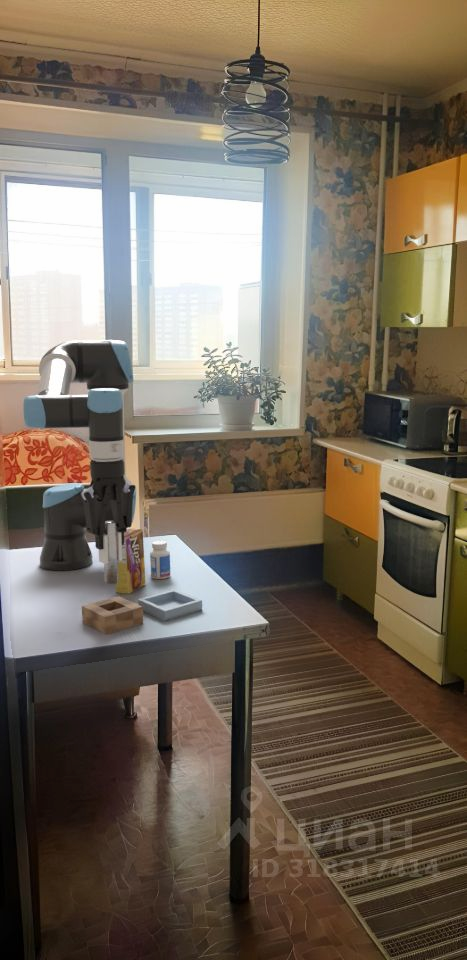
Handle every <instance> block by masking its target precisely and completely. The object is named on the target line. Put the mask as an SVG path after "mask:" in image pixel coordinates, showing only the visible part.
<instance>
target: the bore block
mask: <svg viewBox="0 0 467 960" xmlns="http://www.w3.org/2000/svg"><path fill="white" fill-rule="evenodd" d="M81 616H82V617H81V618H82V620H81V621H82V623H83V624H85V625H87V626H89V627H90V628H92V629H95V630H97V631H98V632H101V633H102V634H104V635H109V634H112V633H115V632H119V631H122V630H125V629H129V628H132V627H135V626H139V625H142V624H144V612H143V607H142V606H140V605H138V603H135V602H133V601H131V600H128V599H126V598H124V597H122V596H120V595H118V596H114V597H110V598H107V599H101V600H99V601H98V600H97V601H95V602H91V603H87V604H83V605H82V606H81Z"/></svg>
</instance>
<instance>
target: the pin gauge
mask: <svg viewBox="0 0 467 960" xmlns="http://www.w3.org/2000/svg"><path fill="white" fill-rule="evenodd" d="M104 534H105V535H107V538H108V564H104V563H103V565H104V566H103V567H104V568H103V569H104V583H105V584H107V585H113V584H115V585H116V583H117V582H118V561H117V531H116V521H105V530H104Z"/></svg>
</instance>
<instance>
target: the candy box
mask: <svg viewBox="0 0 467 960" xmlns="http://www.w3.org/2000/svg"><path fill="white" fill-rule="evenodd" d="M143 531H144V530H143V529H141V528H129V529H128V528H127V531H126V532H124V544H123V545H122V560H121V561H119V560H117V561H118V582H117V583H115V592H116V593H118V594H124V595H125V594H126V595H130V594H131V593H133V592H135V591H136V590H138V589H140V588H142V587H143V586H145V585H146V568H145V567H146V566H145V565H146V563H145V551H144V550H145V549H144V547H145V546H144V532H143Z"/></svg>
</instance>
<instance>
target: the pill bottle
mask: <svg viewBox="0 0 467 960" xmlns="http://www.w3.org/2000/svg"><path fill="white" fill-rule="evenodd" d="M151 545H152V546H151V548H152V549H151V550H150V552H149V559H150V560H149V561H150V563H149V564H150V577H151V578H152V579H155V580H165V579H168V578H170V576H171V556H170V555H171V554H170V550H169V549H167V548H168V545H167V541H165V540H156V541H155V540H154V541H152V543H151Z"/></svg>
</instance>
